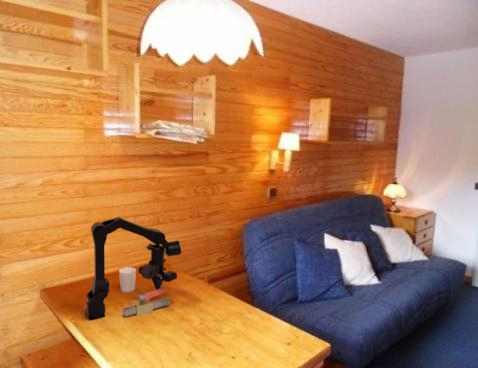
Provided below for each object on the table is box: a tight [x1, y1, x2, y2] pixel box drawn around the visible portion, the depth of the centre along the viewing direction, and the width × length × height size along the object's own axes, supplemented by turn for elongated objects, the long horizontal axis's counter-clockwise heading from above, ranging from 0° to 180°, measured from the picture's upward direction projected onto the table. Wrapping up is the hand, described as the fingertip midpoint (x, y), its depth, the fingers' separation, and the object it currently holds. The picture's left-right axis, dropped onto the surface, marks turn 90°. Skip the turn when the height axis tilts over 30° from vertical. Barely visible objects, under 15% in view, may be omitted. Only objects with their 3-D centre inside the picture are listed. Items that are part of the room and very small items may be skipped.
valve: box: [122, 296, 171, 318], centre depth 163 cm, size 20×6×5 cm, turn 125°
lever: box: [138, 286, 167, 301], centre depth 165 cm, size 14×3×2 cm, turn 138°
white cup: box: [118, 267, 137, 293], centre depth 183 cm, size 8×8×10 cm
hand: (157, 290), depth 169 cm, fingers closed
